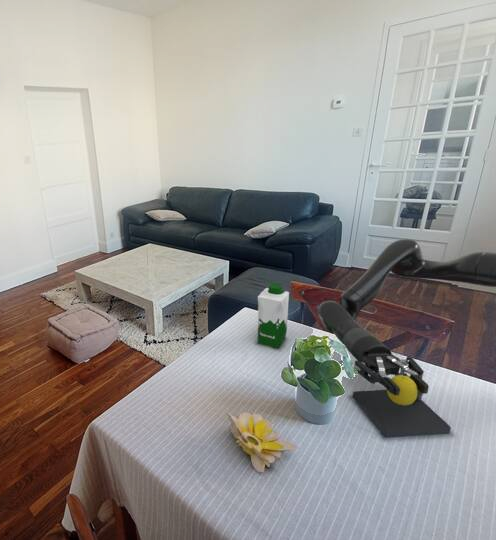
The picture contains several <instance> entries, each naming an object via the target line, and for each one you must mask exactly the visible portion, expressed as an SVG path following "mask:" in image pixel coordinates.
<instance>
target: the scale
mask: <svg viewBox="0 0 496 540" xmlns="http://www.w3.org/2000/svg"><path fill="white" fill-rule="evenodd" d="M417 390H418V389H417ZM422 397H423V394H422V393H421V392H420V391H419V390H418V394H417V398H416V400H415V401H414V402H413V403H412V404H410V405H399V404H397V403H395V402H393V401H392V400H391V399H390V398H389V396H388V394H387V389H386V388H383V389H372V390H371V389H370V390H369V389H368V390H357V391H355V390H354V391H352V395H351V398H352V399H353V401H355V403H356V404H357V405H358V406H359V408H360V409H361V410H362V411H363V413H365V415H366V416H367V417H368V418H369V420H370V421H371V422H372V424H374V426H375V427H376V429H378V431H379V432H380V433H381V434H382V436H383V437H384V438H399V437H415V436H416V437H417V436H428V435H429V436H430V435H431V436H432V435H446V434H450V432H451V428H452V426H450V424H448V422H446V421H445V420H444V419H443V418H442V417H441V416H439V414H438V413H437V412H435V411H434V410H433V409H432V408H431V407H430V406H428V405H427V403H425V402H424V401H423V399H422Z"/></svg>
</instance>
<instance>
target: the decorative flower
mask: <svg viewBox="0 0 496 540" xmlns="http://www.w3.org/2000/svg"><path fill="white" fill-rule="evenodd" d="M225 412H226V415H227V418H228V420H229V421H230V423H228V427H229V428H230V429H229V431H230V432H231V433H232V435H233V436H234V438H235V439H237V440H236V441H235V443H236V444H237V443H238V447H241V448H242V450H243V451H244V452H245V454H247V455H250V461H251V465H252V467H253V469H254V470H255V471H257V472H258V473H264V471H265V468H266V467H268V468H271V464H273V463H275V461H276V458H282V453H281V452H289V451H296V450H297V447H296V446H295V445H294V443H293V442H292V441H290V440H288V439H283V438H281V435H280V434H279V433H277V431H273V430H274V427H275V425H274V424H273V423H272V422H271V421H269V420H268V419H264V417H263V416H262V415H261V414H259V413H254V414H252V413H248V412H242V413H240V414H239V416H238V418H237V417H235V416H234V415H233V414H232V413H230V412H228V411H226V410H225Z"/></svg>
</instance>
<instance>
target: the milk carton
mask: <svg viewBox="0 0 496 540" xmlns="http://www.w3.org/2000/svg"><path fill="white" fill-rule="evenodd" d="M259 293H260V294H259V295H258V296H257V344H259V345H263V346H266V347H270V348H273V349H276V350H279V349H280V347H281V346H282V345H283V344H284V341H285V340H286V337H287V332H288V331H287V330H288V318H289V316H288V315H289V299H290V298H289V297H290V291H287V290H283V285H282V284H279V283H271V284H269V286H268V287H265V288H264V289H263V290H262V291H261V292H259Z"/></svg>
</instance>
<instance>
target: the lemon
mask: <svg viewBox="0 0 496 540" xmlns="http://www.w3.org/2000/svg"><path fill="white" fill-rule="evenodd" d="M390 379H391V380H392V381H393V382H394V383H395V384H396V385H397V386H398V387H399V388H400V392H399V395H393V394H392V393H390V392H389V391H388V390H387V394H388V396H389V398H390V399H391V400H392V401H393V402H395V403H397V404H399V405H410V404H412V403H413V402H414V401H415V400H416V398H417V394H418V390H417V386H416V384H415V382H414V381H413V380H412V379H411V378H409V377H407V376H403V375H397V376H395V375H393V377H390Z"/></svg>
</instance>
